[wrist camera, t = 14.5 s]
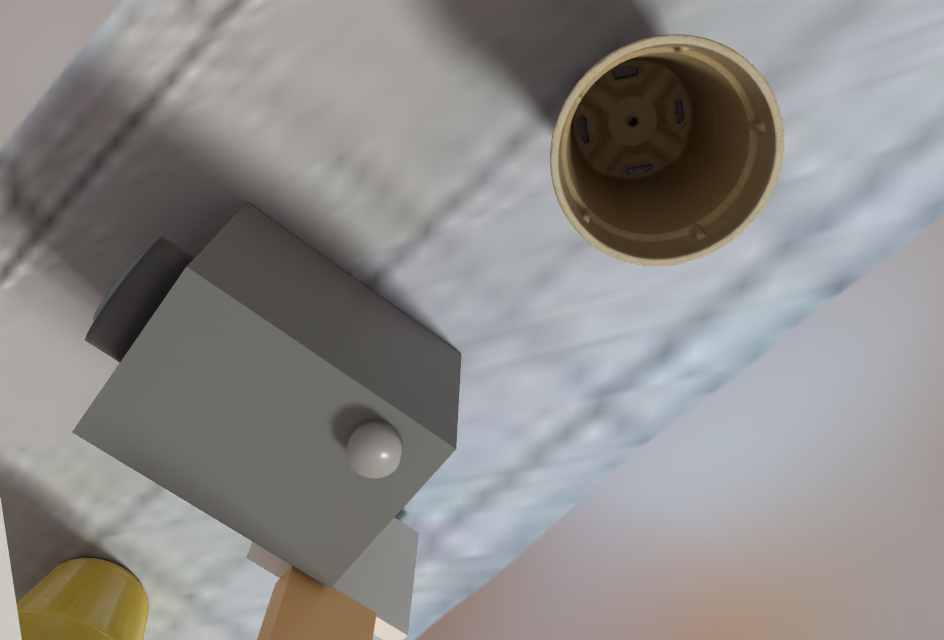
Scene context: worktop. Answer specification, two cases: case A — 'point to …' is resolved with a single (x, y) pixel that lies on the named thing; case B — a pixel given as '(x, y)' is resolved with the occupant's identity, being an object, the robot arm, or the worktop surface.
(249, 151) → the worktop surface
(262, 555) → the sliding cover
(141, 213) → the worktop surface
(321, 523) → the camera body
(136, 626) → the plant pot
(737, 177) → the flower pot
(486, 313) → the worktop surface
